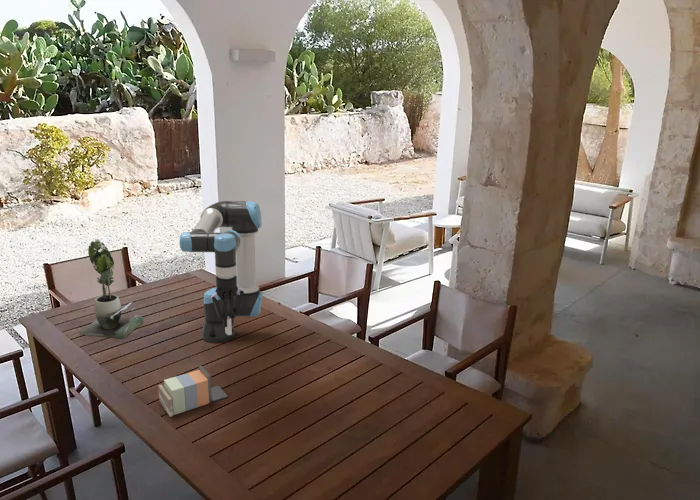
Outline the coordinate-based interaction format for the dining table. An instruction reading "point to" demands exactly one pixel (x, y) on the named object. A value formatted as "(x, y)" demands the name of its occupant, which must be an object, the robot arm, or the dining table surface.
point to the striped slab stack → (165, 400)
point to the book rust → (201, 387)
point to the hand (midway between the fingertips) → (228, 333)
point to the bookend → (213, 388)
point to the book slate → (189, 391)
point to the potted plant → (108, 300)
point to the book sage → (176, 394)
